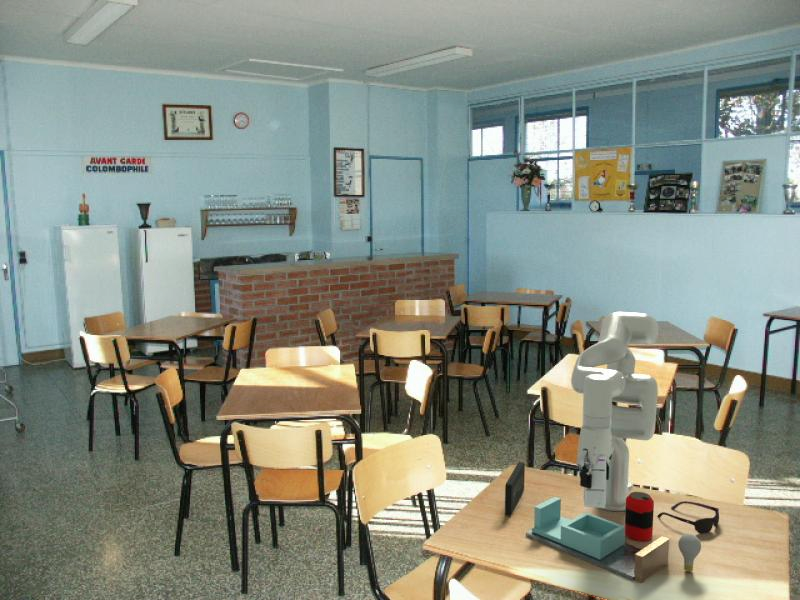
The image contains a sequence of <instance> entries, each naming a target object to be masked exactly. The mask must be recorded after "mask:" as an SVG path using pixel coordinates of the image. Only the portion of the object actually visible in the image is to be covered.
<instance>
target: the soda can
mask: <svg viewBox="0 0 800 600" xmlns="http://www.w3.org/2000/svg"><path fill="white" fill-rule="evenodd" d="M654 507H655V502H654V499H653V498H652V497H651V495H650V494H648V493H646V492H643V491H632V492H631V493H630V492H629V494H628V497H627V498H626V510H624V511H625V513H624V526H625V537H626V538H628V539H630V540H633V541H634V542H648V541H650V540H651V539H652V538H653V531H654V529H653V528H654Z"/></svg>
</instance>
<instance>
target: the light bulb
mask: <svg viewBox="0 0 800 600" xmlns="http://www.w3.org/2000/svg"><path fill="white" fill-rule="evenodd" d="M678 549H679V552H680V553H681V555H682V556H683V563H684V565H683V569H684V570H685V572H687V573H690V572H693V571H694V568H693V567H694V562H695V561H694V560H695V559H696V558H697V556H698V555H699V554H700V552H701V550H702V543H701V541H700V539H699V538H698V537H697V536H696V535H694V534H691V533H686V534H683V535H682V536H681V537H680V538H679V540H678Z"/></svg>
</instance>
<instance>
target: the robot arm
mask: <svg viewBox="0 0 800 600" xmlns="http://www.w3.org/2000/svg"><path fill="white" fill-rule="evenodd" d="M658 337H659V324H658V322H657V320H656V319H655V318H654V317H653V315H650V314H648V313H642V312H628V311H615V312H610V313H609V314H607V315H606V317H604V318H603V319H602V320H601V323H600V333H599V337H598V342H596V343H594V344H593V345H591V346H588V348H586V349H585V350H583V351H582V352H581V353H580V354H579V355H578V356H577V358H576V361H575V364H574V367H573V370H572V374H571V380H570V382H571V388H572V390H573V391H575V392H576V393H578V394H582V395H583V396H582V397H583V398H582V421H581V423H582V426H581V428H580V432H579V433H580V434H579V437H578V447H577V460H576V465H577V468H578V470H579V473H580V475H579V477H580V479H579V480H580V482H579V483H580V484H579V485H580V486H581V487H583V488H584V487H585V488H588V489H590V488H591V487H592V474H590V473H591V470H592V467H593V465H595V464H597V463H598V461H599V457H600V456H602V455H605V454H606V506H605V508H600V509H601V510H605V511H611V512H622V511H625V510H626V498H627V497H628V496H629V494H630V492H631V491H633V490H634V486H633V485H632V484H629V471H630V469H629V467H630V450H629V447H628V445H627V443H626V442H625V440H624V439H628V440H630V439H631V440H636V441H637V440H638V441H649V440H651V439H653V437H654V435H655V434H654V433H655V430H656V421H657V419H656V418H657V408H658V407H657V405H658V395H659V394H658V393H659V387H658V383H657V380H656V378H655V377H653V376H652V375H648V374H641V373H636V372H635V369H636V358H635V355H634V354H633V352H632V351H631V349H630V348H629V344H633V345H634V344H635V345H644V346H645V345H646V346H647V345H648V346H649V345H650V346H651V345H654V344H655V343H656V341H657V339H658ZM604 365H605V366H606V368H601V367H600V368H599V366H604ZM613 402H614V403H621V404H626V405H627V404H628V405H636V406H640V407H641V408H637V407H629V406H622V405H614V404H613ZM587 456H588V458H589V460H590V462H587V461H585V459H586V458H587ZM585 464H587V465H589V467H588V469H587V468H586V466H585Z"/></svg>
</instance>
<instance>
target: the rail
mask: <svg viewBox="0 0 800 600" xmlns="http://www.w3.org/2000/svg"><path fill="white" fill-rule="evenodd" d="M525 536H526V537H527V538H530V539H532V540H535V541H536V542H537V541H538V542H539V543H542V544H545V545H547V546H550V547H551V548H554V549H557V550H559V551H562V552H564V553H566V554H567V555H568V554H569V555H571V556H572V557H574V558H578V559H580V560H582V561H585V562H588V563H590V564H592V565H595V566H597V567H599V568H602V569H604V570H607V571H609V572H612V573H613V574H616V575H619V576H621V577H622V578H625V577H626V579H628V580H630V581H632V580H633V581H634V582H638V583H640V584H642V583H643V582H645V581H646V580H648V578H651V577H652V576H653V575H654V574H656V573H657V572H659V571H660V570H661V569H663V568H664V567H665V565H666V566H667V565H668V564H669V553H670V551H669V550H670V538H668V537H665V536H663V535H661V537H659V538H657V539H656V540H653V542H651V543H650V544H648V545H646V546H645V547H644V548H640V547H637V546H635V545H632V544H629V543H627V542H625V543H624V545H623V546H621V547H619V548H618V549H616V550H615V551H613V552H611V553H610V554H608V555H607V556H605V557H604V558H602V559H600V560H599V559H597V558H595V557H592V556H590V555H587V554H585V553H582V552H580V551H578V550H575V549H573V548H570V547H568V546H565V545H563V544H561V543H558V542H556V541H553V540H551V539H548V538H546V537H544V536H541V535H539V534H536V533H534V532H532V529H531V530H528V531H526V532H525Z"/></svg>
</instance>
